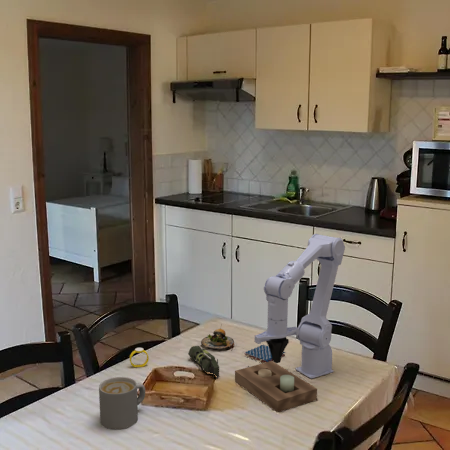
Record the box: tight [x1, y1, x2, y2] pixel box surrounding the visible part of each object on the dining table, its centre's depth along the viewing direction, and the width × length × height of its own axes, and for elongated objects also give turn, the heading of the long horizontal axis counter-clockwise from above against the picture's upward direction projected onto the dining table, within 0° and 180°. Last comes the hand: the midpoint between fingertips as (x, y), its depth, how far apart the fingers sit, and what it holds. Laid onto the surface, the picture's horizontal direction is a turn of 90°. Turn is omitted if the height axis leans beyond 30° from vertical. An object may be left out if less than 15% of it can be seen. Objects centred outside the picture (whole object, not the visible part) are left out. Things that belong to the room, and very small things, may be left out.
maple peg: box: [258, 369, 272, 378], centre depth 174 cm, size 4×4×4 cm
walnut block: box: [234, 361, 318, 413], centre depth 170 cm, size 14×22×4 cm, turn 31°
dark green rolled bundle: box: [188, 345, 220, 379], centre depth 185 cm, size 6×5×18 cm
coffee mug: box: [98, 376, 146, 431], centre depth 154 cm, size 13×10×10 cm
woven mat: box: [244, 344, 286, 364], centre depth 195 cm, size 10×11×2 cm
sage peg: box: [280, 375, 294, 392], centre depth 164 cm, size 4×4×4 cm
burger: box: [200, 323, 235, 350], centre depth 203 cm, size 12×12×8 cm
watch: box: [129, 347, 150, 368], centre depth 186 cm, size 6×3×6 cm, turn 107°
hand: (276, 361), depth 168 cm, fingers closed
